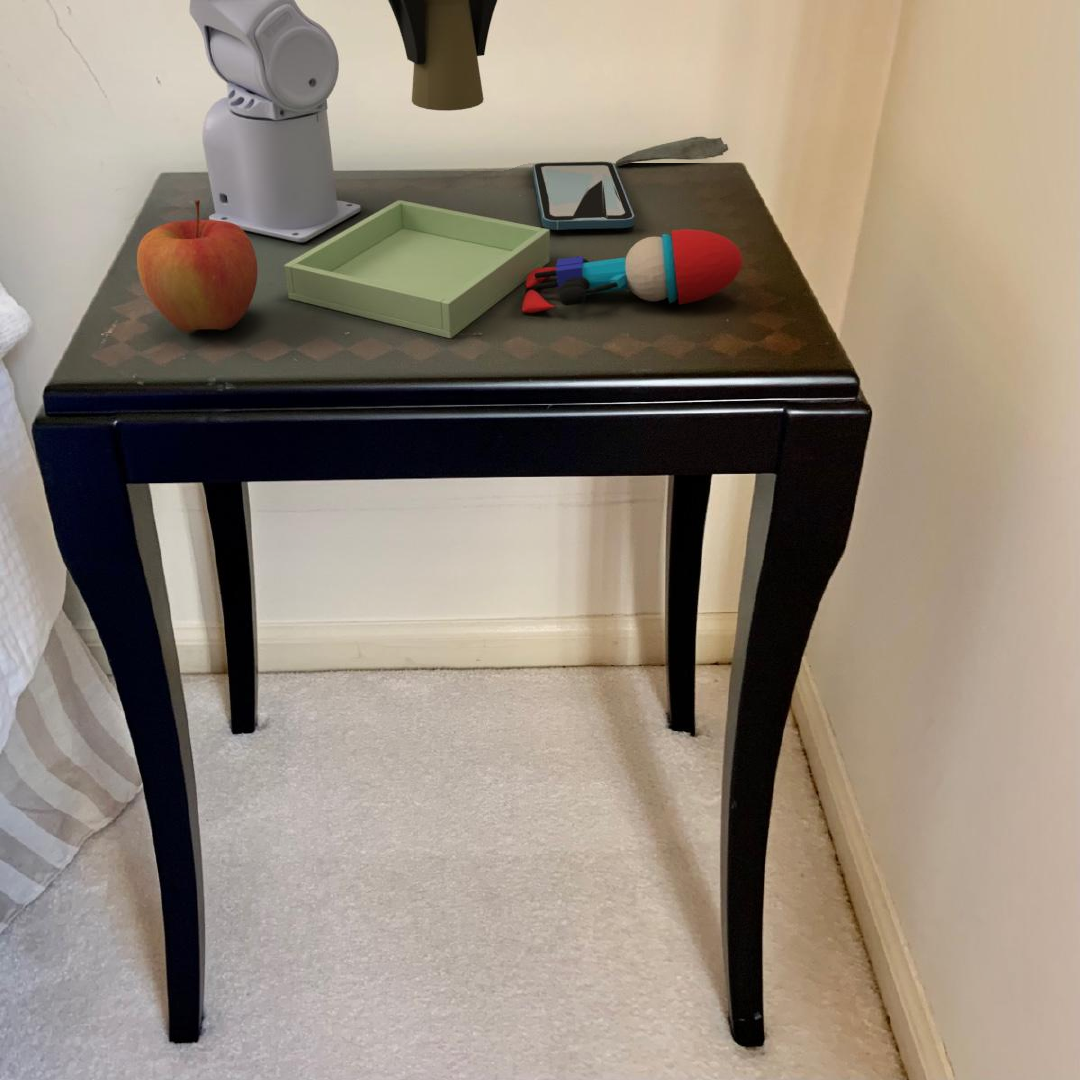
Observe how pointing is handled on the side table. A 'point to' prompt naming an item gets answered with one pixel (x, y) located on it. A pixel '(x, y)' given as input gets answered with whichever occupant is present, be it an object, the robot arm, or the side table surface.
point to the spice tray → (419, 267)
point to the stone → (679, 150)
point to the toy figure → (645, 271)
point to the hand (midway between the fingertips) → (445, 57)
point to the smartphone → (581, 196)
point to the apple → (198, 272)
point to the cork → (448, 59)
